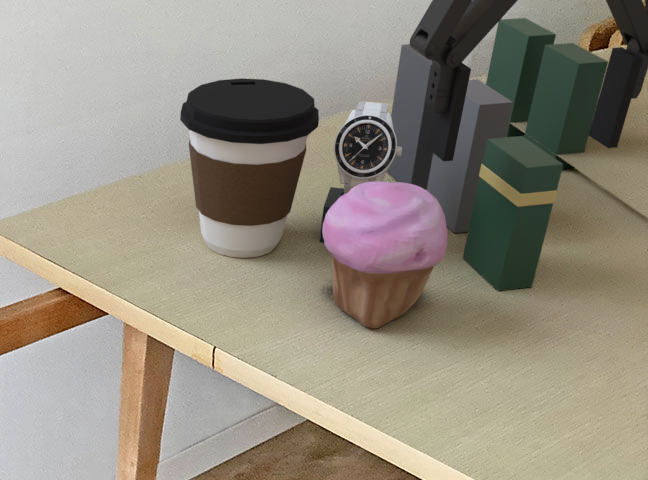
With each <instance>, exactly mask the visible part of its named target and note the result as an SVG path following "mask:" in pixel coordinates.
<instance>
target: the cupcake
mask: <svg viewBox="0 0 648 480" xmlns="http://www.w3.org/2000/svg"><path fill="white" fill-rule="evenodd" d="M322 233H323V238H324V242H323V243H324V246H325V248H326V249H327V250H328V252H329V253H330V254H331V258H332V261H331V262H332V268H331V269H332V270H331V271H332V277H331V279H332V294H333V299H334V303H335V305H336V306H337V307H338V308H339V309H340V310H342V311H343V312H345V313H346V314H347V315H349V316H350V317H352V318H354V319H355V320H356V321H357V322H358V323H359V324H360V325H361V326H363V327H366V328H370V329H379V328H381V327H384V325H386V324H388V323H390V322H391V321H393V320H395V319H397V318H400V317H401V316H404V314H405V313H406V312H407V311H409V310H410V308H412V307H413V305H414V304H416V302H417V301H418V300H419V298H420V297H421V295H422V293H423V292H424V290H425V287H426V285H427V283H428V280H429V279H430V275H431V274H432V271H433V269H434V268H435V267H434V266H436V265H438V264H439V263H440V262H441V261H442V260H443V259H444V258H445V255H446V252H447V247H448V246H447V245H448V227H447V226H446V220H445V215H444V212H443V210H442V208H441V206H440V204H439V202H438V200H437V199H436V198H435V197H434V196H433V195H432V194H431V193H429V192H428V191H427V190H425V189H423V188H421V187H419V186H416V185H413V184H408V183H401V182H397V181H396V182H389V181H382V182H367V183H362V184H359V185H357V186H355V187H353V188H352V189H351V190H350V191H349V192H348V193H346V194H344V195H342V196H341V197H339V198H338V200H337V201H336V202H335V203H334V204H333V205H332V206H331V207H330V209H329V210H328V212H327V213H326V216H325V220H324V223H323V229H322Z"/></svg>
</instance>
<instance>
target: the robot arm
mask: <svg viewBox="0 0 648 480" xmlns="http://www.w3.org/2000/svg"><path fill="white" fill-rule="evenodd" d="M517 2H518V0H432V1H431V2H430V4H429V6H428V7H427V9H426V11H425V12H424V14H423V16H422V18H421V20H419V23H418V24H417V26H416V28H415V30H413V33H412V34H411V36H410V38H409V44H410V46H411V48H412V49H414V50H415V51H417V52H418V53H420V54H421V55H423V56H424V57H426V58H427V59H430V60H432V69H431V75H430V81H429V86H428V92H427V97H426V101H427V106H428V107H429V108H430V109H432V110H433V111H434V113H433V118H432V124H431V129H430V134H429V140H428V145H427V148H428V149H429V150H430V151H431V152H432V153H434V154H435V155H436V156H437V157H439V158H440V159H441V160H442V161H453V157H454V152H455V147H456V142H457V137H458V132H459V127H460V122H461V117H462V112H463V107H464V102H465V97H466V92H467V87H468V82H469V80H470V77H471V71H472V68H471V67H469V66H468V65H466V64H464V63H463V62H464V61H465V60H466V58H468V56H469V55H470V54H471V53H472V52H473V51H474V50H475V48H476V47H477V46H478V45H479V44H480V43H481V42H482V41H483V39H485V37H486V36H487V35H488V34H489V33H490V32H491V31H492V30H493V28H495V26H496V25H498V22H499V21H500V20H501V19H502V18H503V17H504V16H505V15H506V14H507V13H508V12H509V11H510V10H511V8H512V7H513V6H514V5H515V4H516V3H517ZM605 2H606V4H607V6H608V9H609V10H610V11H609V12H610V13H611V16H612V19H614V22H615V24H616V26H617V28H618V31H619V33H620V35H621V37H622V40H623V42H624V44H625V45H626V48H624V47H622V46H618V47H612V50H611V52H610V55H609V59H608V65H607V68H606V72H605V76H604V79H603V83H602V87H601V91H600V94H599V98H598V102H597V106H596V109H595V113H594V117H593V121H592V124H591V128H590V132H589V135H588V137H590V138H592V139H593V140H595V141H596V142H597V143H600V144H601V145H603V146H604V147H606V148H607V149H615V148H618V145H619V142H620V139H621V137H622V136H621V135H622V132H623V129H624V125H625V122H626V119H627V115H628V112H629V109H630V105H631V103H632V100H635V99H638V97H639V95H640V94H641V92H642V89H643V85H644V83H645V79H646V75H647V72H648V0H644V1H643V0H605ZM644 4H645V5H644Z"/></svg>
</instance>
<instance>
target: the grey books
mask: <svg viewBox="0 0 648 480" xmlns="http://www.w3.org/2000/svg"><path fill="white" fill-rule="evenodd" d="M431 69H432V60H430V59H427V58H426V57H424V56H423V55H421V54H420V53H418V52H417V51H415V50H414V49H412V48H411V46H410V43H407V44H406V43H405V44H401V47H400V54H399V61H398V67H397V72H396V73H397V74H396V80H395V86H394V94H393V99H392V100H393V101H392V106H391V113H390V114H391V117H392V123H393V129H394V132H395V135H396V138H397V139H396V140H397V146H398V147H402V153H401V157H396V155H395V157H394V159H393V162H392V163H391V165H390V167H389V169H388V170H387V172H386V174H388V175H389V176H390V177H392V178H393V179H394V181H396V183H397V182H401V183H408V184H413V185H416V186H419V187H421V188H423V189H425V190H427V191H428V192H429V193H431V194H432V195H433V196H434V197H435V198H436V199H437V200H438V202H439V204H440V206H441V208H442V210H443V212H444V215H445V220H446V227H447V229H448V230H449V231H451V232H452V233H453V234H461V233H468V231H469V226H470V221H471V216H472V211H473V207H474V202H475V197H476V192H477V187H478V183H479V178H480V176H479V173H480V168H481V164H483V159H484V154H485V149H486V144H487V140H488V139H493V138H504V137H506V133H507V129H508V124H509V119H510V115H511V110H512V106H513V102H512V101H510V100H509V99H507V98H506V97H504V96H503V95H501V94H500V93H498V92H497V91H495V90H494V89H492V88H490V87H489V86H487V85H486V83H485V82H483V81H482V80H479V78H478V79H469V82H468V87H467V92H466V97H465V102H464V107H463V112H462V117H461V122H460V127H459V132H458V137H457V142H456V147H455V152H454V157H453V161H442V160H441V159H440V158H439V157H437V156H436V155H435V154H434V153H432V152H431V151H430V150H429V149H428V148H427V145H428V140H429V134H430V129H431V124H432V118H433V113H434V111H433V110H432V109H430V108H429V107H428V106H427V101H426V97H427V92H428V86H429V81H430V75H431Z"/></svg>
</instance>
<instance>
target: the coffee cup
mask: <svg viewBox="0 0 648 480" xmlns="http://www.w3.org/2000/svg"><path fill="white" fill-rule="evenodd" d="M315 104H316V103H315V98H314V97H313V96H312V95H310V94H309V92H307V91H305V90H304V89H303V88H300V87H298V86H295V85H292V84H289V83H286V82H281V81H274V80H269V79H263V78H262V79H261V78H230V79H218V80H215V81H214V80H213V81H211V82H208V83H207V82H206V83H202V84H200V85H199V86H197V87H195V88H193V89H192V90H190V91H189V92H188V93H187V97H186V101H184V102H183V103H182V105H181V109H180V118H179V120H180V122H181V123H182V124H183V125H184V126H185V127H186V128H187V129H188V133H189V141H188V148H189V158H190V167H191V174H192V175H191V176H192V184H193V193H194V201H195V207H196V209H197V210H198V218H199V225H200V234H201V236H202V238H203V241H204V243H205V244H206V246H207V248H209V250H211V251H213V252H215V253H217V254H219V255H222V256H225V257H230V258H241V259H248V258H257V257H258V258H259V257H261V256H264V255H267V254H270V253H271V252H272V251H273V250H275V248H276V247H277V246H278V244H279V243H280V241H281V240H282V237H283V233H284V229H285V225H286V222H287V221H286V220H287V217H288V215H289V214H290V213H291V210H292V206H293V202H294V198H295V194H296V191H297V188H298V183H299V180H300V175H301V172H302V168H303V164H304V160H305V157H306V152H307V141H308V137H309V135H310V134H311V133H312V132H314V131H315V130H316V129H318V128H319V122H320V116H319V115H320V114H319V109H318V108H317V107H316V105H315Z"/></svg>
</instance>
